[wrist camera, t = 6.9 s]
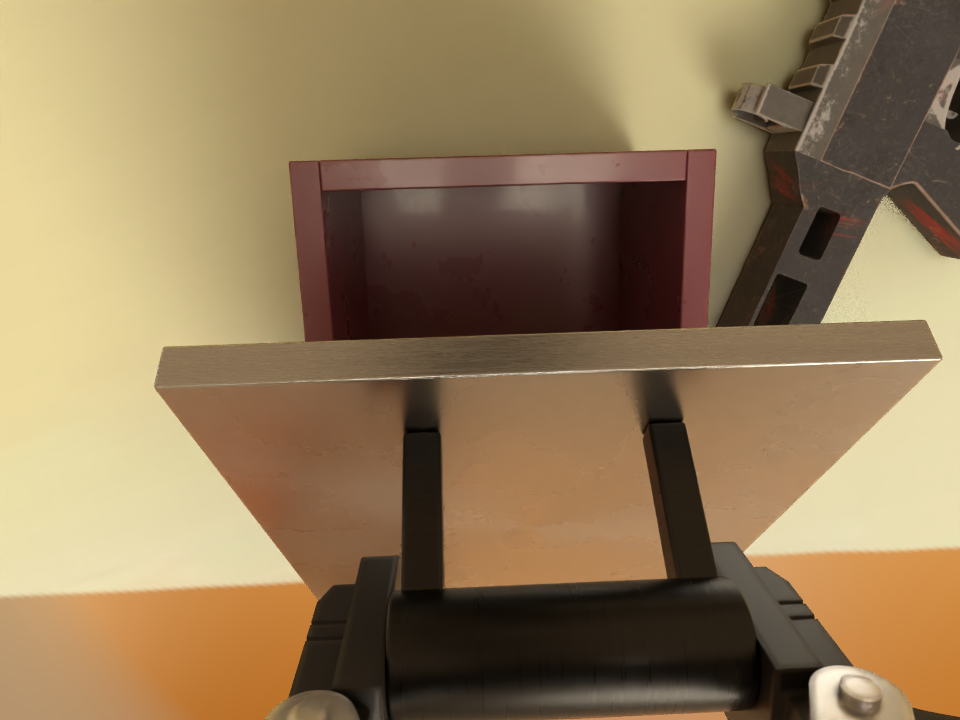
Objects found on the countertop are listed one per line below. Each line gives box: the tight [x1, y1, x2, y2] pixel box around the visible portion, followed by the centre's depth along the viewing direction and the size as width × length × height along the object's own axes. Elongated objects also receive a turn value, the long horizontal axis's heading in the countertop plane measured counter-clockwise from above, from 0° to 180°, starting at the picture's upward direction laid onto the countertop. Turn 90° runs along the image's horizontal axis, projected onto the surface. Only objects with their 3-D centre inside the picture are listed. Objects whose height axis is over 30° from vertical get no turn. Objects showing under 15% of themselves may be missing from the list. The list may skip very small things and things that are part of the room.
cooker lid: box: [154, 320, 942, 720], centre depth 17 cm, size 15×13×6 cm
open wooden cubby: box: [289, 149, 716, 342], centre depth 28 cm, size 14×13×10 cm
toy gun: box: [717, 0, 960, 327], centre depth 29 cm, size 4×32×15 cm
